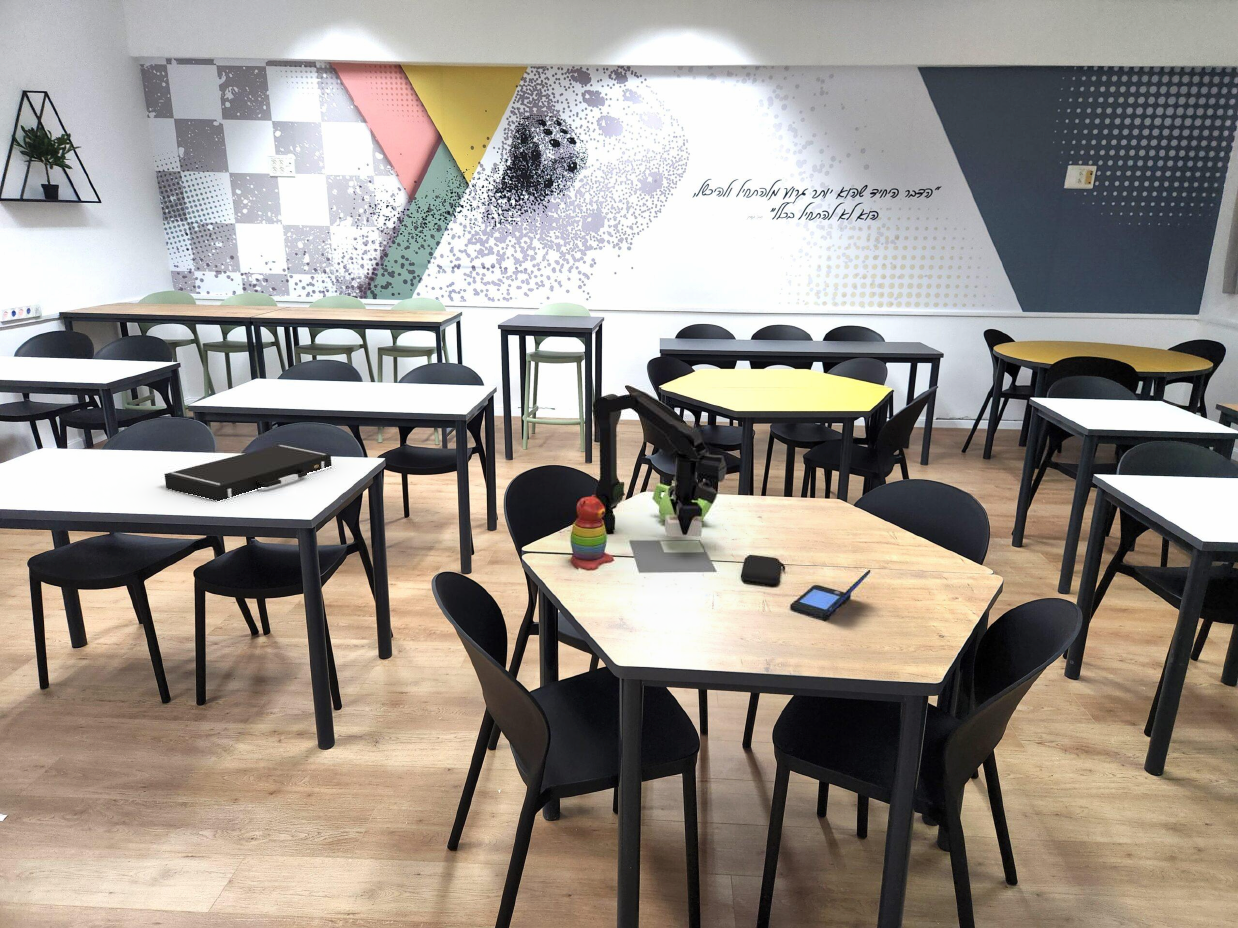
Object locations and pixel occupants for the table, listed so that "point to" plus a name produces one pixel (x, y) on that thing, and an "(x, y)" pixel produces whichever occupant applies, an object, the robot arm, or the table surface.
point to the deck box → (675, 530)
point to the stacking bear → (589, 535)
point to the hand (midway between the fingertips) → (682, 530)
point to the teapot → (665, 503)
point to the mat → (671, 556)
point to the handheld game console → (823, 600)
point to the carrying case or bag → (761, 570)
